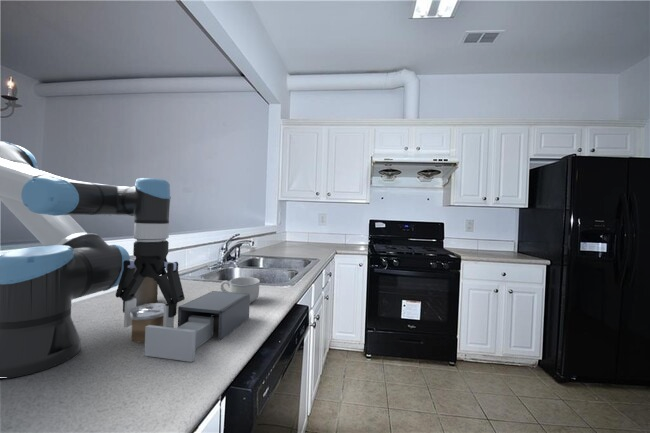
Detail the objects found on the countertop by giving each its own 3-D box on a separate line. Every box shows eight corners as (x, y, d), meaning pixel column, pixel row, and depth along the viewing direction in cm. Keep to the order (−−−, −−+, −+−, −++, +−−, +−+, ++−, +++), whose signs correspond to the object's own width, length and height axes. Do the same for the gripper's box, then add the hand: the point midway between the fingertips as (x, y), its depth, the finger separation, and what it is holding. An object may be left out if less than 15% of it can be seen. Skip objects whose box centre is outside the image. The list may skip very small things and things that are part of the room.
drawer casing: (221, 340, 70) (222, 310, 70) (177, 335, 72) (178, 306, 72) (249, 318, 86) (249, 293, 86) (212, 314, 88) (213, 290, 88)
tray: (191, 361, 59) (192, 332, 59) (144, 355, 61) (145, 326, 61) (222, 337, 72) (223, 312, 72) (182, 332, 74) (183, 308, 74)
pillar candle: (162, 299, 102) (163, 258, 102) (149, 307, 92) (150, 262, 92) (133, 299, 100) (134, 258, 100) (117, 308, 91) (118, 262, 91)
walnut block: (149, 343, 68) (150, 318, 68) (131, 341, 68) (132, 316, 68) (164, 334, 72) (165, 311, 72) (147, 332, 73) (148, 310, 73)
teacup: (263, 298, 107) (263, 277, 107) (253, 307, 96) (253, 284, 96) (228, 296, 108) (228, 275, 108) (214, 305, 98) (215, 282, 98)
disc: (130, 322, 65) (130, 315, 65) (129, 312, 71) (130, 305, 71) (169, 316, 69) (169, 309, 69) (165, 307, 76) (165, 301, 76)
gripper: (201, 241, 72) (199, 326, 72) (125, 237, 76) (123, 318, 76) (182, 243, 65) (179, 338, 65) (99, 239, 69) (96, 328, 69)
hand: (148, 327), depth 70 cm, fingers open, 10 cm apart
